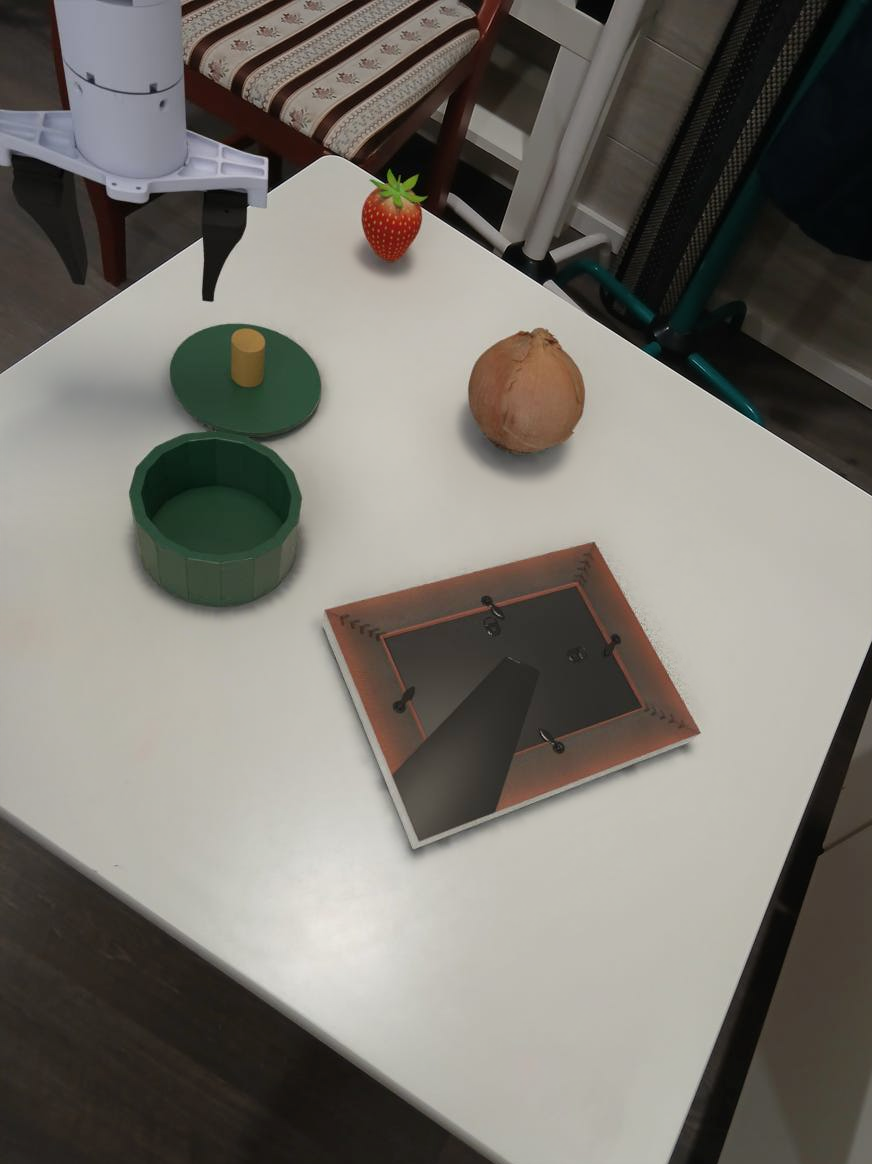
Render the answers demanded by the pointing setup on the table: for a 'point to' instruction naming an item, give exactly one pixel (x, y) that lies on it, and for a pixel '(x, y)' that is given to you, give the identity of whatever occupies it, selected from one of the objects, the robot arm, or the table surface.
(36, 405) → the table surface
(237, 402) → the tin lid
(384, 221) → the fruit
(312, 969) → the table surface
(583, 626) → the picture frame
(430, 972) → the table surface
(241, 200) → the robot arm
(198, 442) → the tea tin
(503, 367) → the onion
